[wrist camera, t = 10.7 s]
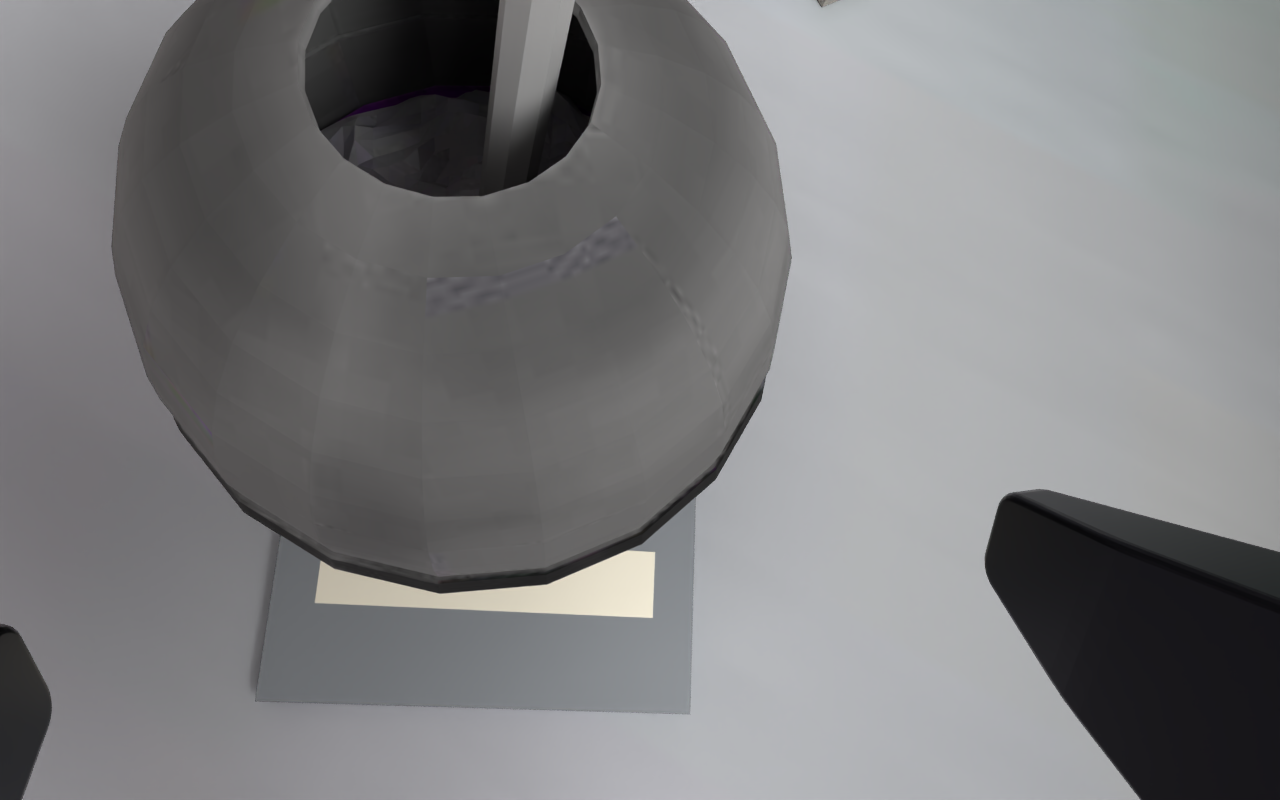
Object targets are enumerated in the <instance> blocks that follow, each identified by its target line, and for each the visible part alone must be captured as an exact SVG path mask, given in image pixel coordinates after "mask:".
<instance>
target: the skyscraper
mask: <svg viewBox="0 0 1280 800" xmlns="http://www.w3.org/2000/svg"><path fill="white" fill-rule="evenodd" d="M836 1H839V0H818V2H819V3H820V5H821V6H822V7H824V6H826V5H829V4H831V3H834V2H836Z"/></svg>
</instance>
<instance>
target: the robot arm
mask: <svg viewBox="0 0 1280 800" xmlns="http://www.w3.org/2000/svg"><path fill="white" fill-rule="evenodd" d="M985 569H986V574H987V577H988V579H989V582H990V584H991V586H992V587H993V589H994V590H995V592H996V594H997V595H998V597H999V598H1000V600H1001V602H1002V603H1003V605H1004V607H1005V608H1006V610H1007V611H1008V613H1009V615H1010V616H1011V618H1012V619H1013V621H1014V623H1015V624H1016V626H1017V627H1018V629H1019V631H1020V632H1021V634H1022V635H1023V637H1024V639H1025V640H1026V642H1027V643H1028V645H1029V647H1030V648H1031V650H1032V651H1033V653H1034V655H1035V656H1036V658H1037V659H1038V661H1039V663H1040V664H1041V666H1042V667H1043V669H1044V671H1045V672H1046V674H1047V675H1048V677H1049V678H1050V680H1051V681H1052V683H1053V684H1054V686H1055V687H1056V689H1057V690H1058V692H1059V693H1060V695H1061V696H1062V698H1063V699H1064V701H1065V702H1066V703H1067V705H1068V706H1069V707H1070V709H1071V710H1072V712H1073V713H1074V714H1075V716H1076V717H1077V718H1078V720H1079V721H1080V722H1081V724H1082V725H1083V726H1084V727H1085V729H1086V730H1087V731H1088V733H1089V734H1090V735H1091V736H1092V738H1093V739H1094V740H1095V742H1096V743H1097V744H1098V745H1099V747H1100V748H1101V749H1102V751H1103V752H1104V753H1105V754H1106V756H1107V757H1108V758H1109V760H1110V761H1111V762H1112V763H1113V765H1114V766H1115V767H1116V769H1117V770H1118V771H1119V773H1120V774H1121V775H1122V776H1123V778H1124V779H1125V780H1126V782H1127V783H1128V784H1129V785H1130V787H1131V788H1132V789H1133V791H1134V792H1135V793H1136V794H1137V796H1138V797H1139V798H1140V800H1280V552H1277V551H1274V550H1270V549H1266V548H1262V547H1259V546H1255V545H1251V544H1247V543H1244V542H1240V541H1236V540H1233V539H1229V538H1225V537H1221V536H1218V535H1214V534H1210V533H1206V532H1203V531H1199V530H1195V529H1192V528H1188V527H1184V526H1180V525H1177V524H1173V523H1169V522H1165V521H1162V520H1158V519H1154V518H1151V517H1147V516H1143V515H1139V514H1136V513H1132V512H1128V511H1124V510H1121V509H1117V508H1113V507H1110V506H1106V505H1102V504H1098V503H1095V502H1091V501H1087V500H1083V499H1080V498H1076V497H1072V496H1068V495H1065V494H1061V493H1057V492H1054V491H1050V490H1043V489H1036V490H1028V491H1020V492H1012V493H1009V494H1007V495H1006V496H1004V497H1003V498H1002V500H1001V501H1000V503H999V506H998V509H997V512H996V516H995V520H994V523H993V527H992V531H991V534H990V538H989V542H988V545H987V549H986V553H985ZM51 711H52V707H51V696H50V692H49V689H48V687H47V685H46V683H45V681H44V679H43V677H42V675H41V673H40V671H39V670H38V668H37V666H36V664H35V662H34V660H33V658H32V656H31V654H30V653H29V651H28V649H27V647H26V645H25V643H24V641H23V639H22V637H21V636H20V634H19V633H18V631H16V630H15V629H14V628H13V627H11V626H8V625H5V624H0V800H22V798H23V795H24V793H25V790H26V787H27V784H28V782H29V779H30V776H31V773H32V771H33V768H34V765H35V762H36V760H37V757H38V754H39V751H40V748H41V746H42V743H43V740H44V737H45V735H46V732H47V729H48V726H49V722H50V718H51Z"/></svg>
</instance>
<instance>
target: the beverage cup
mask: <svg viewBox="0 0 1280 800" xmlns="http://www.w3.org/2000/svg"><path fill="white" fill-rule="evenodd" d="M112 253H113V261H114V268H115V276H116V279H117V282H118V285H119V288H120V292H121V295H122V298H123V301H124V304H125V308H126V311H127V314H128V317H129V320H130V324H131V327H132V330H133V333H134V336H135V339H136V343H137V346H138V349H139V352H140V355H141V359H142V362H143V365H144V368H145V371H146V374H147V377H148V379H149V380H150V382H151V384H152V386H153V387H154V389H155V391H156V393H157V394H158V396H159V398H160V399H161V401H162V402H163V403H164V405H165V406H166V407H167V408H168V410H169V411H170V412H171V413H172V415H173V417H174V420H175V422H176V424H177V426H178V428H179V430H180V432H181V433H182V434H183V436H184V437H185V438H186V439H187V441H188V442H189V443H190V444H191V446H192V447H193V448H194V450H195V451H196V452H197V453H198V455H199V456H200V457H201V458H202V460H203V461H204V462H205V464H206V465H207V466H208V467H209V469H210V470H211V471H212V472H213V474H214V475H215V476H216V478H217V479H218V480H219V481H220V483H221V484H222V485H223V486H224V488H225V489H226V490H227V492H228V493H229V494H230V495H231V497H232V498H233V499H234V500H235V502H236V503H237V504H238V505H239V507H240V508H241V509H242V511H243V512H244V513H246V514H248V515H249V516H251V517H252V518H254V519H255V520H257V521H259V522H260V523H262V524H263V525H265V526H267V527H268V528H270V529H271V530H273V531H275V532H276V533H278V534H279V535H281V536H283V537H284V538H286V539H287V540H289V541H291V542H292V543H294V544H295V545H297V546H299V547H300V548H302V549H303V550H305V551H307V552H308V553H310V554H311V555H313V556H315V557H316V558H318V559H319V560H321V561H322V562H324V563H326V564H327V565H329V566H330V567H332V568H334V569H337V570H341V571H345V572H349V573H354V574H358V575H362V576H366V577H371V578H375V579H379V580H383V581H388V582H392V583H396V584H400V585H405V586H409V587H413V588H417V589H421V590H426V591H430V592H434V593H438V594H445V593H456V592H468V591H479V590H491V589H503V588H514V587H526V586H537V585H547V584H550V583H552V582H554V581H557V580H559V579H562V578H564V577H566V576H569V575H571V574H573V573H576V572H578V571H580V570H583V569H585V568H587V567H590V566H592V565H594V564H597V563H599V562H602V561H604V560H606V559H609V558H611V557H613V556H616V555H618V554H620V553H623V552H625V551H627V550H630V549H632V548H634V547H637V546H639V545H642V544H643V543H644V542H645V541H646V540H648V539H649V538H650V537H651V536H652V535H653V534H654V533H655V532H657V531H658V530H659V529H660V528H661V527H662V526H663V525H665V524H666V523H667V522H668V521H669V520H670V519H671V518H672V517H674V516H675V515H676V514H677V513H678V512H679V511H680V510H682V509H683V508H684V507H685V506H686V505H687V504H688V503H690V502H691V501H692V500H693V499H694V498H695V497H696V496H697V495H699V494H700V493H701V492H702V491H703V490H704V489H705V488H707V487H708V486H709V485H710V484H711V483H712V482H713V481H714V480H716V478H717V476H718V474H719V473H720V471H721V469H722V467H723V466H724V464H725V462H726V460H727V459H728V457H729V455H730V453H731V452H732V450H733V448H734V446H735V445H736V443H737V441H738V440H739V438H740V436H741V434H742V433H743V431H744V429H745V427H746V426H747V424H748V422H749V420H750V419H751V417H752V415H753V413H754V412H755V410H756V408H757V406H758V405H759V403H760V401H761V399H762V394H763V389H764V384H765V378H766V375H767V373H768V371H769V369H770V365H771V361H772V356H773V352H774V347H775V342H776V337H777V332H778V327H779V321H780V316H781V311H782V306H783V300H784V295H785V290H786V285H787V280H788V274H789V269H790V264H791V259H792V256H791V247H790V239H789V231H788V224H787V217H786V210H785V203H784V196H783V189H782V182H781V175H780V168H779V161H778V154H777V147H776V143H775V141H774V138H773V136H772V134H771V132H770V130H769V128H768V126H767V124H766V122H765V120H764V118H763V116H762V114H761V112H760V110H759V108H758V106H757V104H756V102H755V100H754V98H753V96H752V94H751V92H750V90H749V88H748V86H747V84H746V82H745V80H744V77H743V75H742V73H741V71H740V69H739V67H738V65H737V63H736V61H735V59H734V57H733V55H732V53H731V51H730V49H729V47H728V45H727V43H726V41H725V40H724V39H723V38H722V37H721V36H720V35H719V34H718V33H717V32H716V31H715V30H714V28H713V27H712V26H711V25H710V24H709V23H708V22H707V21H706V20H705V19H704V18H703V17H702V16H701V15H700V14H699V12H698V11H697V10H696V9H695V8H694V7H693V6H692V5H691V4H690V3H689V2H688V1H687V0H196V1H195V2H194V3H193V4H192V5H191V6H190V7H189V8H188V9H187V10H186V11H185V12H184V13H183V14H182V16H181V17H180V18H179V19H178V20H177V21H176V22H175V23H174V25H173V26H172V27H171V28H170V29H169V30H168V31H167V32H166V34H165V36H164V38H163V40H162V43H161V45H160V47H159V49H158V51H157V53H156V55H155V58H154V60H153V62H152V64H151V66H150V68H149V70H148V73H147V75H146V77H145V79H144V81H143V83H142V86H141V88H140V90H139V92H138V94H137V96H136V98H135V101H134V103H133V105H132V107H131V109H130V111H129V114H128V116H127V118H126V121H125V125H124V128H123V132H122V136H121V139H120V143H119V147H118V161H117V176H116V190H115V205H114V219H113V233H112Z"/></svg>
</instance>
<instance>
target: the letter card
mask: <svg viewBox="0 0 1280 800" xmlns="http://www.w3.org/2000/svg"><path fill="white" fill-rule="evenodd" d="M695 502H696V497H695V498H694V499H693V500H692V501H691V502H690V503H688V504H687V505H686V506H685V507H684V508H683V509H682V510H680V511H679V512H678V513H677V514H676V515H675V516H674V517H672V518H671V519H670V520H669V521H668V522H667V523H666V524H665V525H663V526H662V527H661V528H660V529H659V530H658V531H657V532H655V533H654V534H653V535H652V536H651V537H650V538H649V539H648V540H646V541H645V542H644V543H643V544H642V545H639V546H637V547H634V548H632V549H630V550H627V551H625V552H623V553H620V554H618V555H616V556H613V557H611V558H609V559H606V560H604V561H602V562H599V563H597V564H594V565H592V566H590V567H587V568H585V569H583V570H580V571H578V572H576V573H573V574H571V575H569V576H566V577H564V578H562V579H559V580H557V581H554V582H552V583H550V584H547V585H537V586H526V587H514V588H503V589H491V590H479V591H468V592H456V593H445V594H438V593H434V592H430V591H426V590H421V589H417V588H413V587H409V586H405V585H400V584H396V583H392V582H388V581H383V580H379V579H375V578H371V577H366V576H362V575H358V574H354V573H349V572H345V571H341V570H337V569H334V568H332V567H330V566H329V565H327V564H326V563H324V562H322V561H321V560H319V559H318V558H316V557H315V556H313V555H311V554H310V553H308V552H307V551H305V550H303V549H302V548H300V547H299V546H297V545H295V544H294V543H292V542H291V541H289V540H287V539H286V538H284V537H283V536H281V535H280V541H279V547H278V554H277V560H276V567H275V573H274V580H273V587H272V593H271V600H270V606H269V613H268V619H267V626H266V632H265V639H264V645H263V652H262V658H261V665H260V671H259V678H258V685H257V691H256V698H255V701H262V702H295V703H329V704H362V705H396V706H429V707H462V708H496V709H529V710H562V711H596V712H629V713H663V714H690V701H691V661H692V621H693V581H694V542H695Z"/></svg>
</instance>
